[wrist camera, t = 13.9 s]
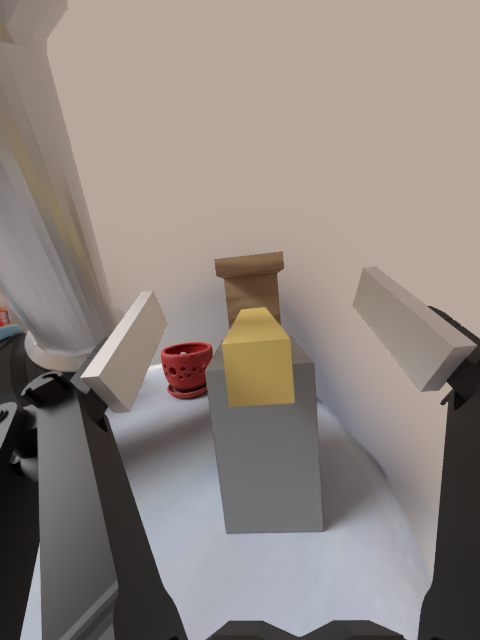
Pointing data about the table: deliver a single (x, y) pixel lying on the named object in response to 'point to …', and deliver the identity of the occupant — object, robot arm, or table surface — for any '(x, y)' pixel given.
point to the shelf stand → (251, 283)
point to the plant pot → (186, 368)
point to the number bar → (257, 360)
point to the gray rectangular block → (268, 454)
